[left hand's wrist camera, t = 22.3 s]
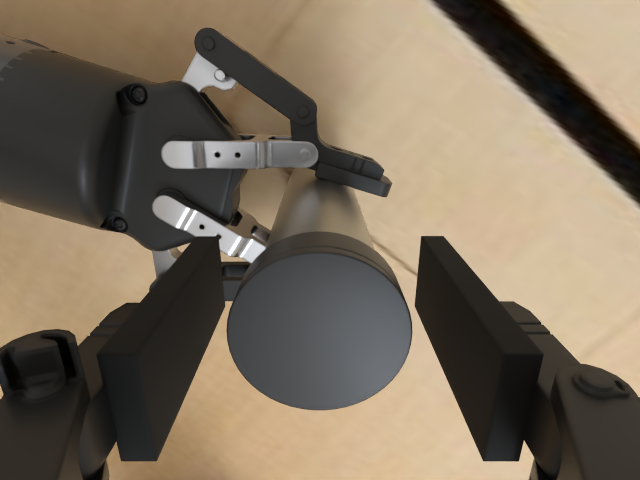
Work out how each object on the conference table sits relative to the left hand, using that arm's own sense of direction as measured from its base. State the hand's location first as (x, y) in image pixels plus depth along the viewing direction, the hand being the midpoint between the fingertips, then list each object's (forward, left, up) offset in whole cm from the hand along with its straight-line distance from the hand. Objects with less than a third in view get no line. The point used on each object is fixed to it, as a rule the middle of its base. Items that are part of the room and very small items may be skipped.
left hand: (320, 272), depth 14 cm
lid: (0, 0, +4) cm, 4 cm away
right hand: (-2, +1, -7) cm, 7 cm away
